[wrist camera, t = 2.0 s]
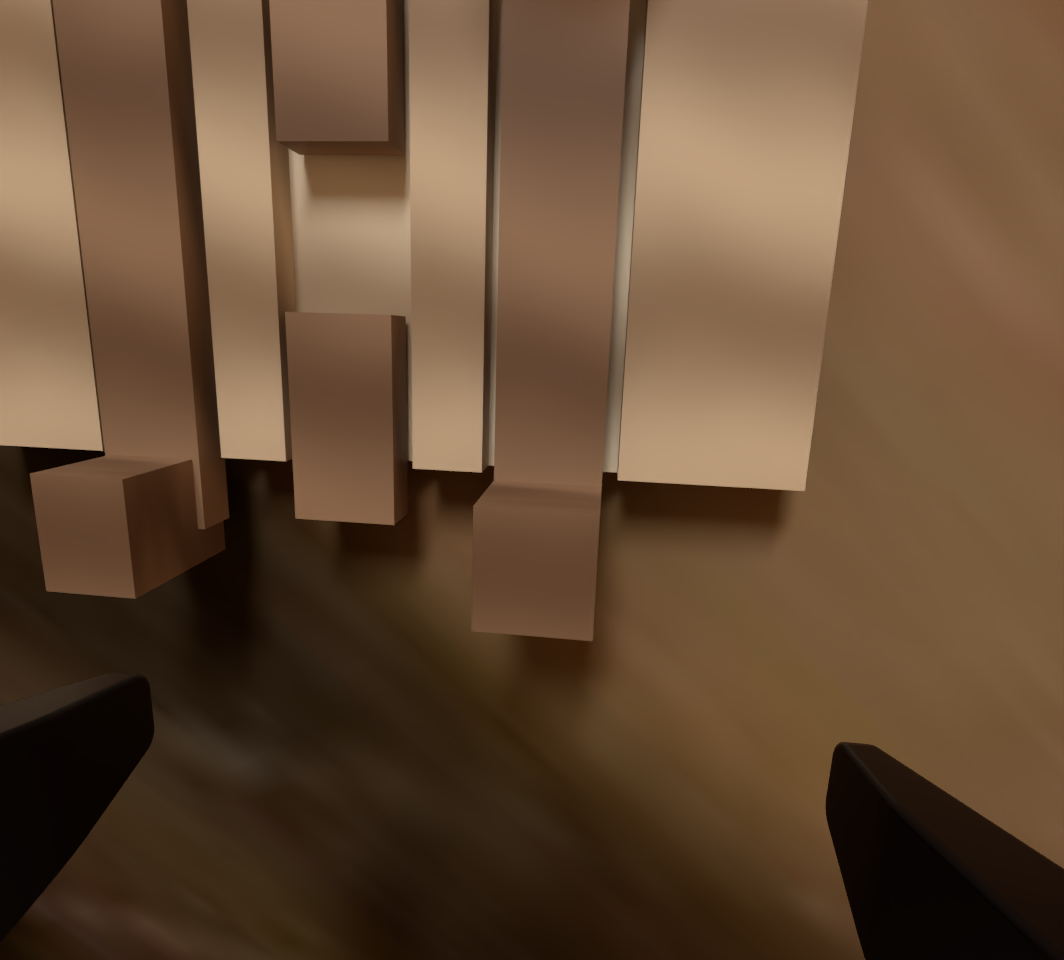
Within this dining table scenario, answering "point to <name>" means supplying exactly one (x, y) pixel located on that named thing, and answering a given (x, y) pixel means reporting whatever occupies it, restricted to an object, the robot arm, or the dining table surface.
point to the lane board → (454, 238)
